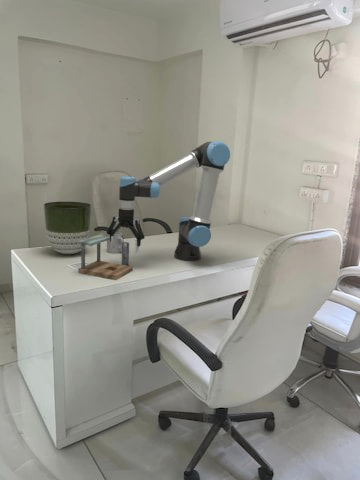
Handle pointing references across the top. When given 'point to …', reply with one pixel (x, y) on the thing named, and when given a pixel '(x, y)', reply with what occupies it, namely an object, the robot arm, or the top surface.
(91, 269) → the peg stand
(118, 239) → the mug
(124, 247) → the peg
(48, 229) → the planter
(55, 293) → the top surface
